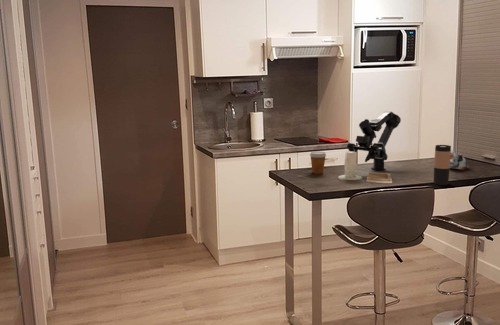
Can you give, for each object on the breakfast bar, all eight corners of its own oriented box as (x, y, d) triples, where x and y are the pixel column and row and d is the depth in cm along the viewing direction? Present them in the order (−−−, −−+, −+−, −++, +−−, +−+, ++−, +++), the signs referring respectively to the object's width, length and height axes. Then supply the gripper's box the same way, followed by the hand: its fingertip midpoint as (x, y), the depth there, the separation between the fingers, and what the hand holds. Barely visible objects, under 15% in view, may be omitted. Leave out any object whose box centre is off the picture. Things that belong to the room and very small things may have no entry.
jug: (348, 175, 266) (349, 150, 263) (358, 176, 262) (358, 152, 259) (340, 178, 260) (341, 152, 257) (350, 179, 256) (350, 154, 253)
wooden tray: (366, 178, 262) (367, 172, 261) (391, 179, 259) (391, 173, 258) (366, 183, 250) (366, 177, 249) (392, 185, 246) (392, 178, 246)
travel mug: (430, 182, 252) (432, 145, 248) (444, 181, 252) (446, 144, 249) (437, 185, 244) (439, 147, 240) (451, 184, 245) (454, 146, 241)
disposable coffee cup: (315, 175, 273) (316, 154, 271) (306, 172, 281) (306, 152, 279) (329, 173, 277) (329, 153, 275) (319, 170, 286) (319, 150, 283)
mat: (334, 177, 266) (334, 175, 265) (354, 175, 270) (354, 173, 270) (346, 182, 254) (346, 180, 253) (366, 180, 258) (367, 178, 258)
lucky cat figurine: (470, 170, 278) (463, 151, 274) (449, 177, 283) (442, 158, 278) (464, 159, 292) (457, 140, 287) (445, 165, 296) (437, 147, 291)
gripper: (348, 129, 273) (338, 150, 267) (378, 131, 261) (368, 154, 255) (355, 141, 280) (345, 162, 274) (384, 143, 268) (374, 166, 262)
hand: (357, 160), depth 266 cm, fingers open, 9 cm apart
